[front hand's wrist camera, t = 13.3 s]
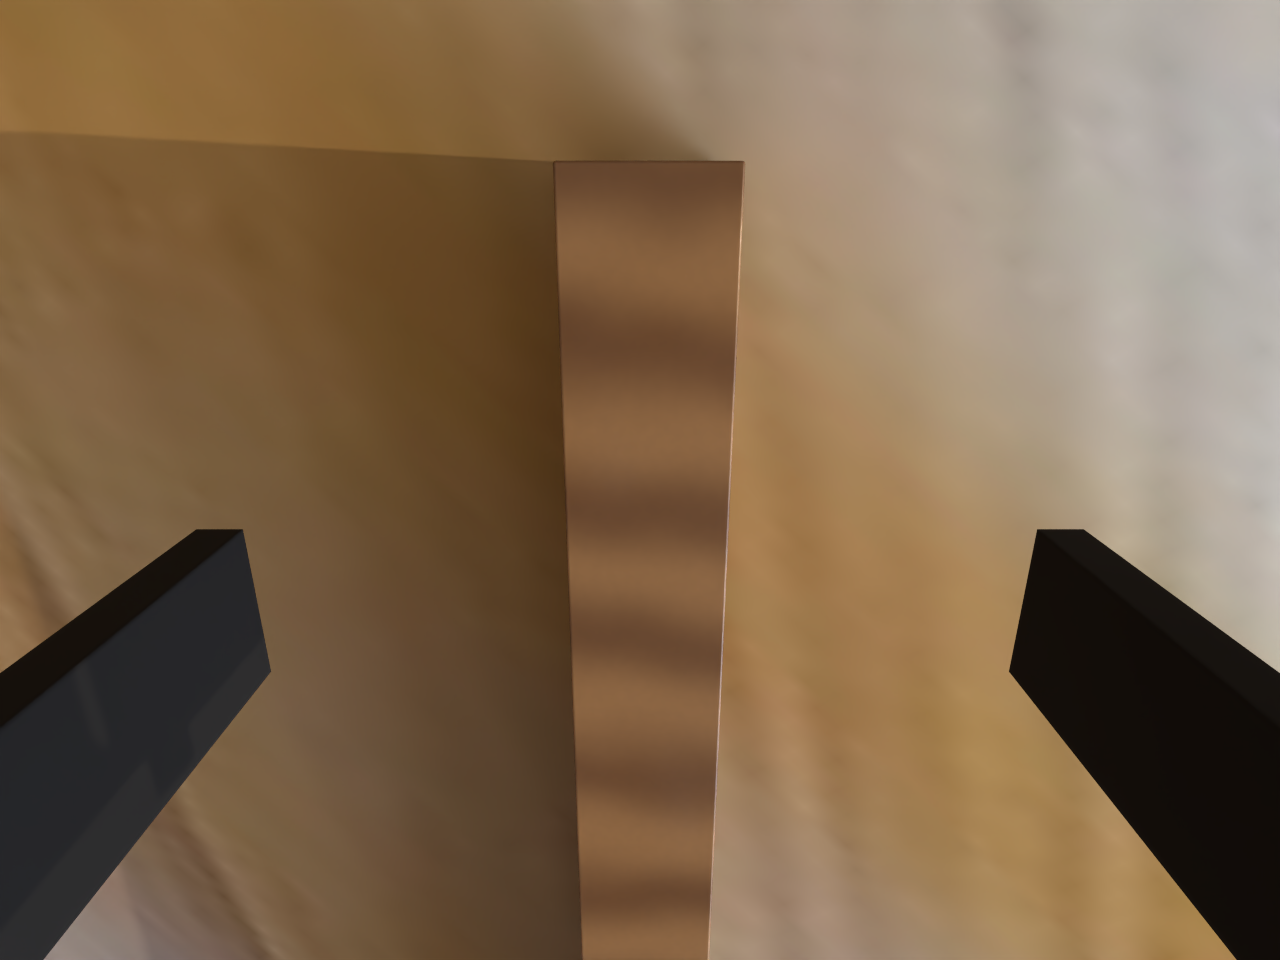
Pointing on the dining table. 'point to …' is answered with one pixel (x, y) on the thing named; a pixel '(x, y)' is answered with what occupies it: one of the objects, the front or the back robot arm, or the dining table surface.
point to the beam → (647, 533)
